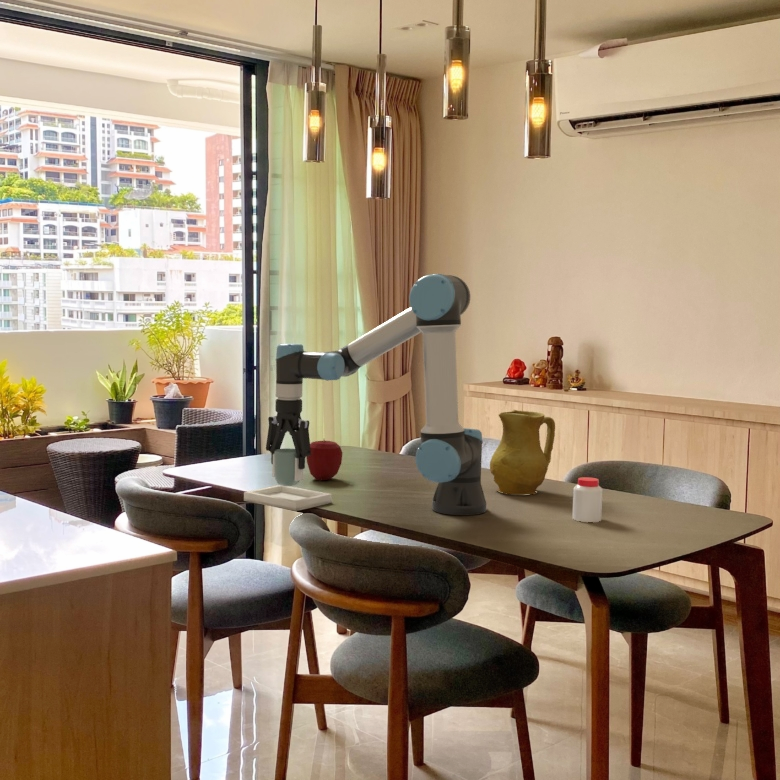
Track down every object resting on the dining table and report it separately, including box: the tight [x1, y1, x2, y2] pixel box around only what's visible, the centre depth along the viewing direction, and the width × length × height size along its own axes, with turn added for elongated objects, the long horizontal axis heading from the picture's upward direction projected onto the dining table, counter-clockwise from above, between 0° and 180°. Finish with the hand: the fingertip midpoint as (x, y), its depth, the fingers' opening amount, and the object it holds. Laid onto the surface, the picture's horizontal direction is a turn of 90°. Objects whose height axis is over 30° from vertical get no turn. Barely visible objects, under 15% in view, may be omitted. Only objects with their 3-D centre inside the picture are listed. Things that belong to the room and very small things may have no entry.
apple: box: [305, 439, 343, 481], centre depth 313 cm, size 12×12×13 cm
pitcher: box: [489, 409, 556, 495], centre depth 298 cm, size 17×19×25 cm
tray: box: [243, 484, 333, 512], centre depth 278 cm, size 20×15×2 cm
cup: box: [274, 447, 300, 487], centre depth 278 cm, size 8×8×10 cm
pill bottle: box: [571, 476, 604, 523], centre depth 264 cm, size 8×8×11 cm
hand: (287, 478), depth 278 cm, fingers closed on cup, 8 cm apart
